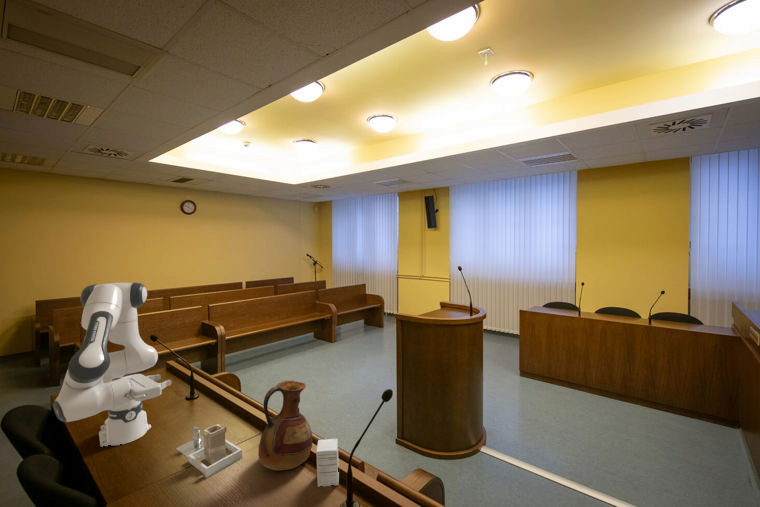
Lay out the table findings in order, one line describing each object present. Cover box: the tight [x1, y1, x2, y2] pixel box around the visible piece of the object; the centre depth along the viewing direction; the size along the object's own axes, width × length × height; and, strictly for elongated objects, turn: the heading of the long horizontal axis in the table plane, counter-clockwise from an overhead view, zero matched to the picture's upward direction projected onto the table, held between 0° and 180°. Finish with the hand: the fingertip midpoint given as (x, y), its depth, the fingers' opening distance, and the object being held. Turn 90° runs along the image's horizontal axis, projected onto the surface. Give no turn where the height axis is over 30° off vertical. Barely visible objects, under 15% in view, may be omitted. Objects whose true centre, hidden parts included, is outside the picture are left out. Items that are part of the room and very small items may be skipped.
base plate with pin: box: [175, 425, 204, 458], centre depth 141 cm, size 12×12×9 cm
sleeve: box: [202, 423, 228, 465], centre depth 133 cm, size 6×7×12 cm
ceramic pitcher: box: [258, 380, 313, 471], centre depth 131 cm, size 20×20×30 cm
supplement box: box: [316, 438, 340, 488], centre depth 120 cm, size 7×7×13 cm
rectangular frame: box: [187, 438, 243, 479], centre depth 132 cm, size 14×14×4 cm
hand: (165, 379), depth 126 cm, fingers open, 8 cm apart
